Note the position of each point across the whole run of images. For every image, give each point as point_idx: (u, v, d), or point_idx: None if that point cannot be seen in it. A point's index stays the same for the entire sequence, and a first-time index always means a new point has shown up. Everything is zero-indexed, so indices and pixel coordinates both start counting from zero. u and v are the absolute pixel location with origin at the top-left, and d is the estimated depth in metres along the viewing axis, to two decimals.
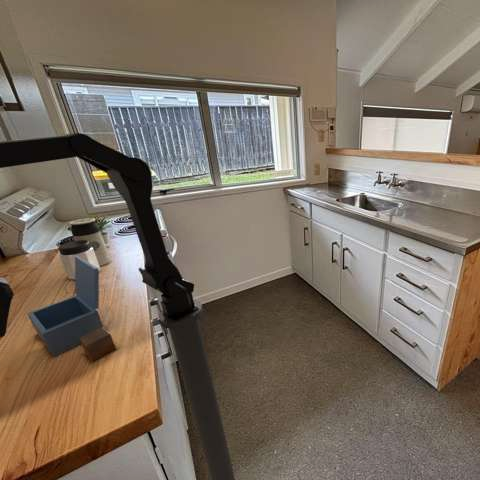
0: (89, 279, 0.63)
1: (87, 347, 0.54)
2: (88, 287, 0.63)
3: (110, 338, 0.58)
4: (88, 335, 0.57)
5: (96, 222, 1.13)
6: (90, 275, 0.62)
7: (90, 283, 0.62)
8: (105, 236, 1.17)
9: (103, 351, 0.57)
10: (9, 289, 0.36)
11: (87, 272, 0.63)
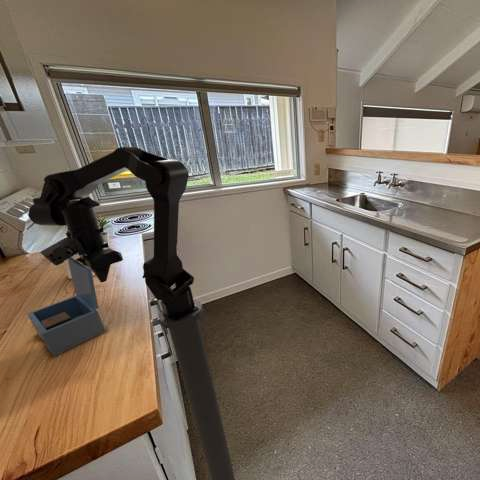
0: (84, 280, 0.62)
1: (47, 329, 0.59)
2: (85, 288, 0.63)
3: None
4: (50, 318, 0.62)
5: None
6: (84, 276, 0.61)
7: (86, 284, 0.62)
8: (105, 236, 1.17)
9: None
10: (121, 256, 0.63)
11: (81, 273, 0.62)
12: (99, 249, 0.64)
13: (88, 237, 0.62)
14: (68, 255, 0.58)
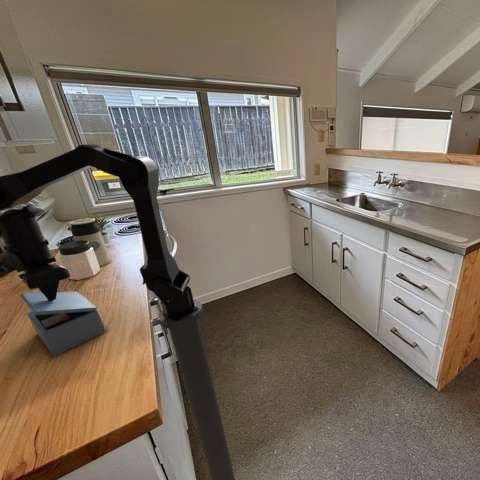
0: None
1: (47, 329, 0.59)
2: None
3: None
4: (50, 318, 0.62)
5: (96, 222, 1.13)
6: None
7: None
8: (105, 236, 1.17)
9: None
10: (67, 272, 0.55)
11: None
12: (43, 264, 0.56)
13: (28, 252, 0.54)
14: (1, 273, 0.50)
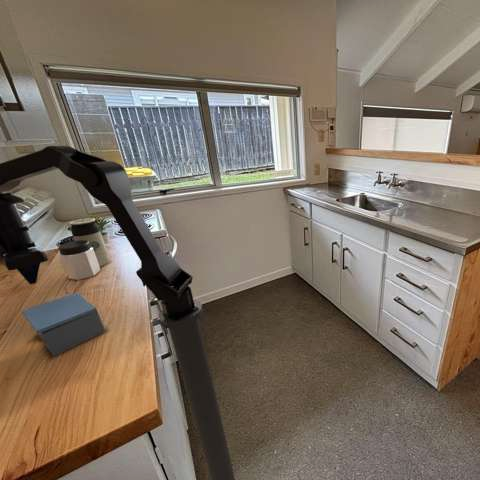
0: None
1: None
2: None
3: None
4: None
5: (96, 222, 1.13)
6: None
7: None
8: (105, 236, 1.17)
9: None
10: (45, 256, 0.59)
11: None
12: (23, 249, 0.60)
13: (8, 236, 0.58)
14: None
